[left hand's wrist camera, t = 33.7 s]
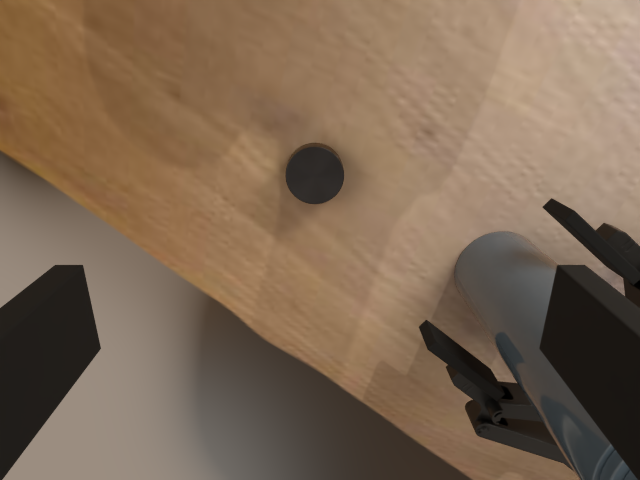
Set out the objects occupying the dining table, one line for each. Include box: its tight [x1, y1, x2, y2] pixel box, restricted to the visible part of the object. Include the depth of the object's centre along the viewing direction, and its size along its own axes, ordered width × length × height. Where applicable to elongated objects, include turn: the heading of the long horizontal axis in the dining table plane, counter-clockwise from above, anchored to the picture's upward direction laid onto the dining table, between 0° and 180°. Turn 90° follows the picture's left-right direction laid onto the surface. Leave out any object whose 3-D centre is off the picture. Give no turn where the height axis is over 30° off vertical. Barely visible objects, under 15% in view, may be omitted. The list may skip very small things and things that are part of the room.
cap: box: [286, 143, 344, 204], centre depth 32 cm, size 4×4×2 cm
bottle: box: [455, 232, 638, 480], centre depth 25 cm, size 7×7×24 cm
